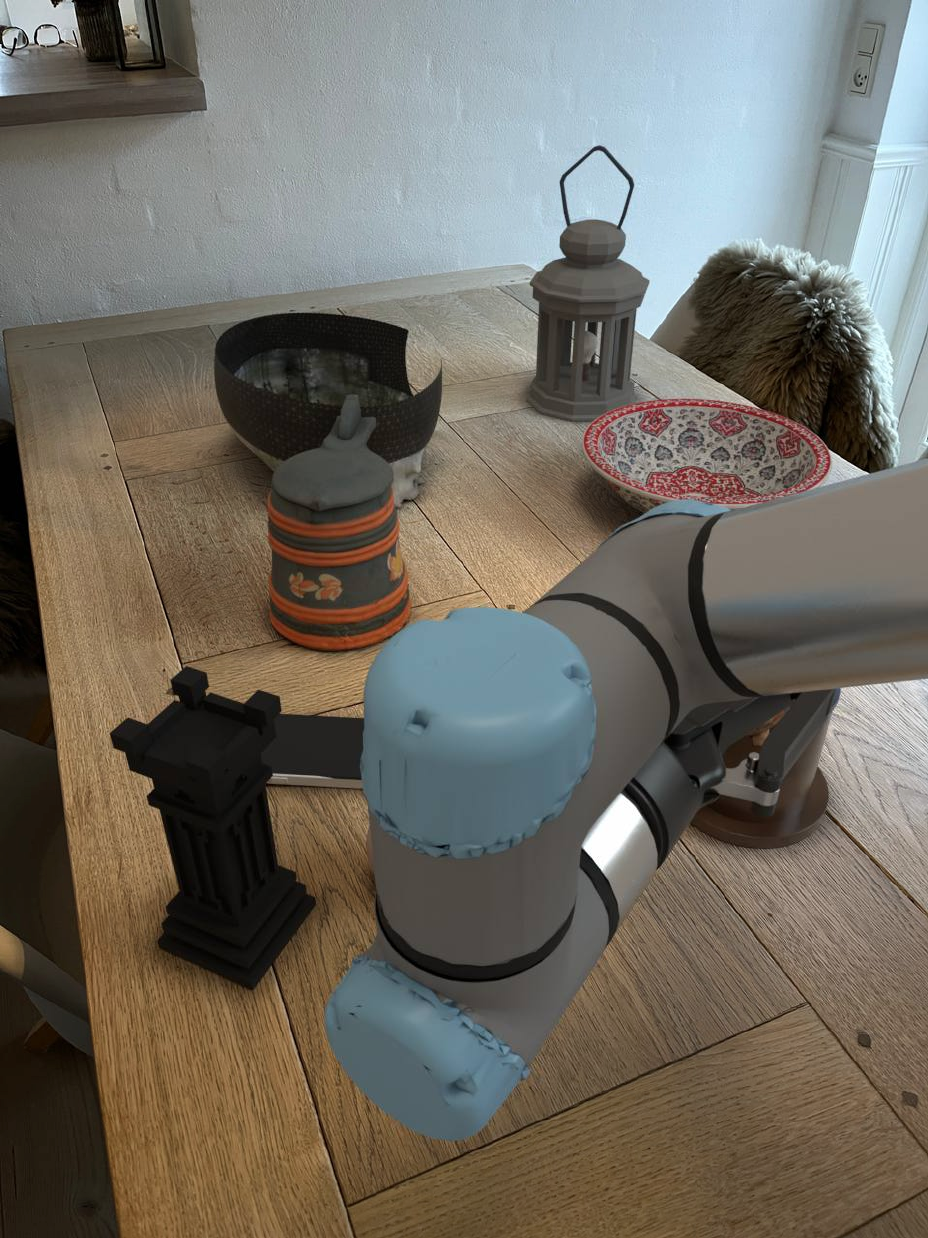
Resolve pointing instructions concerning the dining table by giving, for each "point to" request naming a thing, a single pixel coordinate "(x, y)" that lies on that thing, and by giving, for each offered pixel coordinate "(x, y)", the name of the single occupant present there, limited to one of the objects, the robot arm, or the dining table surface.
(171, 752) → the chess piece
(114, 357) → the dining table surface
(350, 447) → the tankard
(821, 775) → the pedestal
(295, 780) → the smartphone
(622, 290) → the lantern
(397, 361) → the basket
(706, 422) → the ceramic bowl
